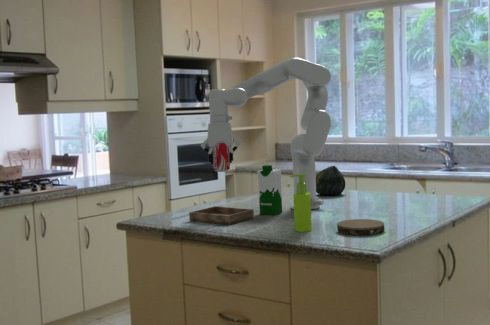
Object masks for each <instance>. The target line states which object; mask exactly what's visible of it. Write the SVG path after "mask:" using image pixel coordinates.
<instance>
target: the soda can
mask: <svg viewBox="0 0 490 325" xmlns="http://www.w3.org/2000/svg"><path fill="white" fill-rule="evenodd" d="M212 155H213V164H212V168H213V169H212V170H213V171H215V173H217V172H218V173H221V172H223V173H224V172H229V170H231V163H230V150H229V147H228V146H227V145H226V144H225V142H217V144H216V145H215V146H214V148H213V150H212Z"/></svg>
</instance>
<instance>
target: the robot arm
mask: <svg viewBox="0 0 490 325" xmlns="http://www.w3.org/2000/svg"><path fill="white" fill-rule="evenodd" d="M295 79H296V80H299V81H302V83H303V85H304V86H305V88H306V91H307V100H306V104H305V106H304V110H303V113H302V116H301V117H300V118H301V119H300V126H301V129H302V130H304V131H305V133H299V134H296V135H295V136H294V137H293V138H292V139H291V142H290V154H291V159H292V160H291V161H292V175H294V174H305V175H306V176H304V183H306V188H307V192H308V193H310V201H311V210H317V209H319V208H321V206H323V205H324V204H325V201H324V200H323V199H319V196H317V192H316V175H317V174H316V163H315V162H316V161H315V158H317V157H318V156H320V155H321V154H322V152H323V151H324V147H325V144H326V142H327V139H328V136H329V134H330V133H329V132H330V130H331V125H332V120H331V116H330V114H329V113H328V112H327V111H326V110H327V105H328V100H329V92H328V89H327V85H328V84H329V83H330V81H331V79H332V75H331V71H330V70H329V69H328V68H327V67H326V66H325V65H322V64H318V63H315V62H312V61H309V60H307V59H303V58H300V57H292V58H288V59H285V60H283V61H281V62H279V63H277V64H275V65H273V66H271V67H270V68H268V69H265V70H263V71H261V72H259V73H257V74H255V75H253V76H252V77H250V78H247V79H246V80H244V81H241V82H240V83H237V84H236V85H234V86H232V87H230V88H228V89H224V88H218V89H217V88H215V89H214V88H213V89H210V90H209V91H208V100H209V103H208V104H209V105H208V106H209V123H207V138H206V139H205V140H204V141H203V142H202V143H201V144H200V147H201V148H202V150H204V152H206V153H207V154H208V162H209V163H210V164H211V165H213V155H212V150H213V148H214V146H215V145H216V144H217V142H225V144H226V145H227V146H228V147H229V153H230V164H232V163H233V161H234V153H235V151H236V150H237V149H238V148H239V146H241V142H240V141H238V140H237V139H236V138H235V137H233V131H232V130H233V129H232V124H231V122H230V121H231V120H233V116H231V115H229V107H236V108H237V107H242V106H244V105H245V104H246V103H247V102H248V101H249V100H248V99H250V98H254V97H256V96H258V95H262V94H265V93H269V92H271V91H273V90H275V89H276V88H278V87H280V86H283V85H284V84H287V83H288V82H289V81H292V80H295ZM234 143H235V145H234ZM206 144H207V146H208V147H209V149H208V147H207V146H206ZM233 145H234V146H233ZM292 178H293V179H292V180H293V194H294V193H297V184H298V183H299V176H296V177H292ZM290 209H293V210H294V203H292V204H291V205H290Z"/></svg>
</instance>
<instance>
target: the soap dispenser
mask: <svg viewBox="0 0 490 325" xmlns="http://www.w3.org/2000/svg"><path fill="white" fill-rule="evenodd" d="M296 176H299V183H298V184H297V193H294V192H293V204H294V209H293V216H294V218H293V219H294V232H299V233H307V232H311V231H312V211H311V210H312V209H311V201H310V193H308V192H307V188H306V183H304V176H306V175H305V174H294V175H293V174H291V175H289V177H290V178H293V177H296Z"/></svg>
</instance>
